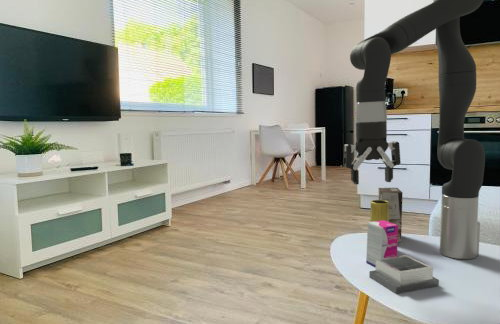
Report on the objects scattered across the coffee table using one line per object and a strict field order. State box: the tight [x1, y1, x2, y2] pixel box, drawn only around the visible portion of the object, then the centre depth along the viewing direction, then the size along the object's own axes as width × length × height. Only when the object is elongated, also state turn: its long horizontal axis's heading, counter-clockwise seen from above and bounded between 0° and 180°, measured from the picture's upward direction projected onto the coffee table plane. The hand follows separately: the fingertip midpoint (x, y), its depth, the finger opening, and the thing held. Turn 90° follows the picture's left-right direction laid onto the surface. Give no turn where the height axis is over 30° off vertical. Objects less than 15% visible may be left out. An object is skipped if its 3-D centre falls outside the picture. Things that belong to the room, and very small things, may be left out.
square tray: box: [368, 254, 440, 295], centre depth 94 cm, size 12×10×4 cm
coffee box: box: [377, 187, 403, 243], centre depth 127 cm, size 9×6×16 cm
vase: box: [369, 199, 389, 222], centre depth 118 cm, size 6×6×14 cm
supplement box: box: [365, 220, 399, 268], centre depth 105 cm, size 6×6×12 cm
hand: (372, 182), depth 101 cm, fingers open, 8 cm apart
